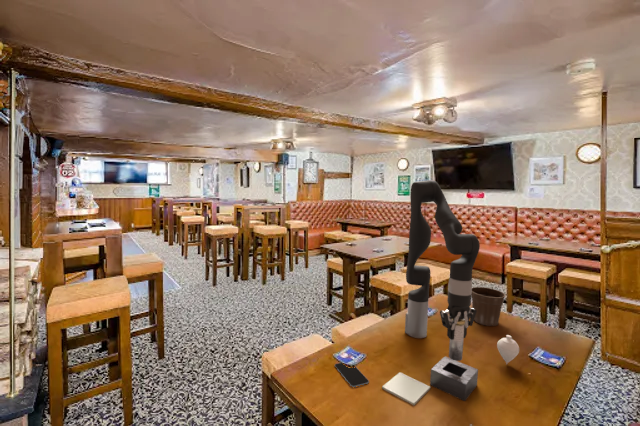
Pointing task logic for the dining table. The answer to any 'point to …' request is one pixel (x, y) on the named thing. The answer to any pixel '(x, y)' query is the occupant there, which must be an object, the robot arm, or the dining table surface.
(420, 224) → the robot arm
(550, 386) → the dining table surface
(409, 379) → the cream pad
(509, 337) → the spinning top
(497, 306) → the plant pot
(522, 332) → the dining table surface
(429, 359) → the dining table surface
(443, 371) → the eye block
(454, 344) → the steel peg
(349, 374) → the smartphone
